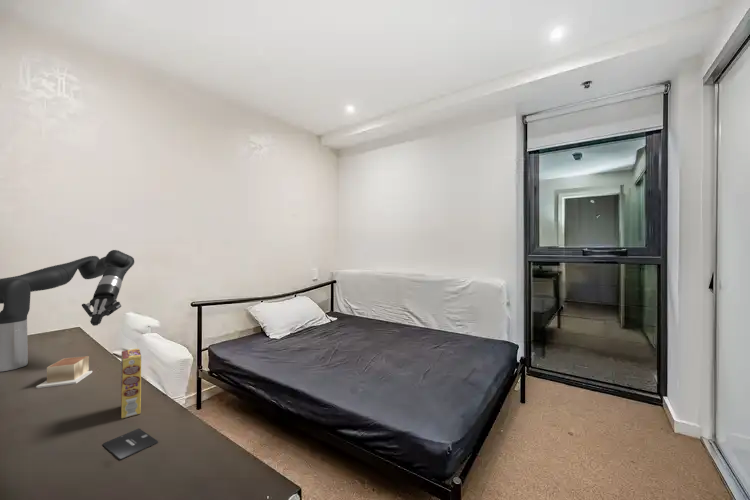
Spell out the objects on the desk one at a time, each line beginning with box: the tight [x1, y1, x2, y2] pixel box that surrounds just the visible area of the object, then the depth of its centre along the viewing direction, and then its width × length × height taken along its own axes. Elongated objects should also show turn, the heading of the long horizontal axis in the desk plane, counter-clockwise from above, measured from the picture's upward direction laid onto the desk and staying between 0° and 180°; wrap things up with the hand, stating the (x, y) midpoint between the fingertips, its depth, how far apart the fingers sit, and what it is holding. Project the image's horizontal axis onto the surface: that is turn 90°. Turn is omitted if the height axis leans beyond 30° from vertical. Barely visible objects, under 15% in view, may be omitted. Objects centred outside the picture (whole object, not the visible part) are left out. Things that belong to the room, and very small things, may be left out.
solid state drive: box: [102, 428, 159, 461], centre depth 70 cm, size 7×10×1 cm
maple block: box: [46, 355, 90, 383], centre depth 107 cm, size 5×7×9 cm
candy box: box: [120, 348, 142, 419], centre depth 85 cm, size 9×4×15 cm, turn 39°
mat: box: [35, 370, 93, 389], centre depth 105 cm, size 10×10×1 cm
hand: (94, 324), depth 121 cm, fingers closed
